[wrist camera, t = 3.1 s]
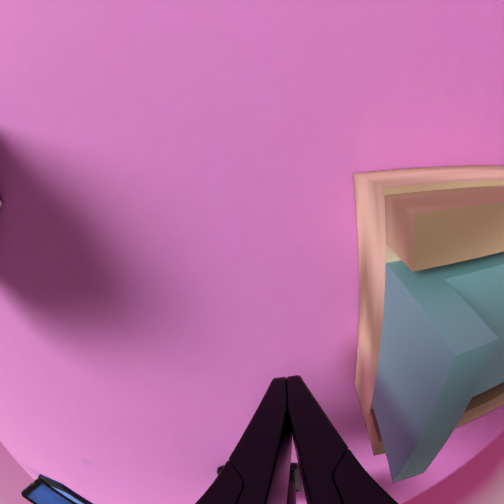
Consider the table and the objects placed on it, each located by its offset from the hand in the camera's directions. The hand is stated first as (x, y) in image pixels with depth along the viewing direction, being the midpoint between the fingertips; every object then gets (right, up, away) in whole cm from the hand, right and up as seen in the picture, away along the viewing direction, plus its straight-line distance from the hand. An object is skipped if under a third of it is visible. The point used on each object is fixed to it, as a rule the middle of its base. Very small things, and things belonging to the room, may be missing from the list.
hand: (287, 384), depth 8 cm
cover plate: (+8, +2, 0) cm, 8 cm away
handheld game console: (-44, -52, +29) cm, 74 cm away
